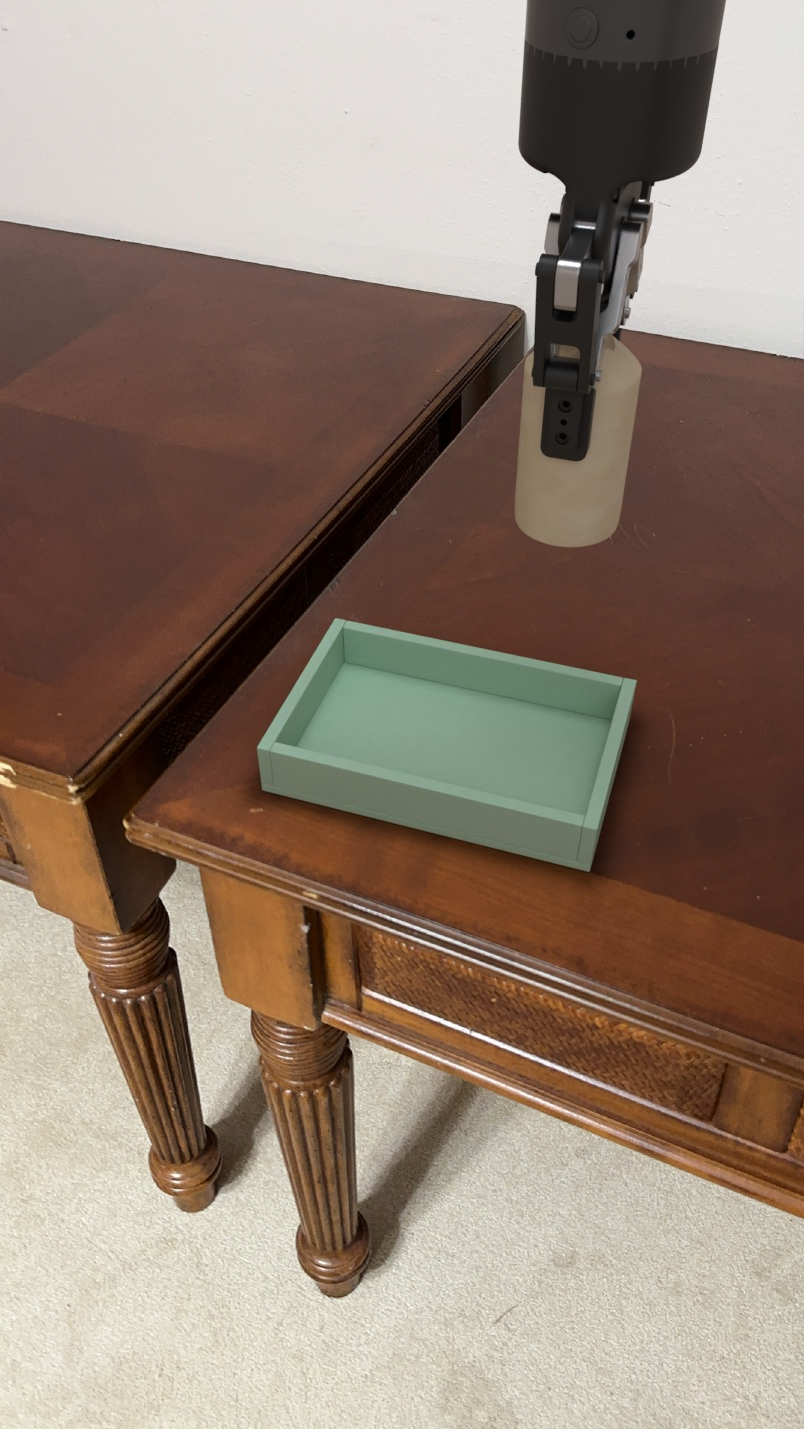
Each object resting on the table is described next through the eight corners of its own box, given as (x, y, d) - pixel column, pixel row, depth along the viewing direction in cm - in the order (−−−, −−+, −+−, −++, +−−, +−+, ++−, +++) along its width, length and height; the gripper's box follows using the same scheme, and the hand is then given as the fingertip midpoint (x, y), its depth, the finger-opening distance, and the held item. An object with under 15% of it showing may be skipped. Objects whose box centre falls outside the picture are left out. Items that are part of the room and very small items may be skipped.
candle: (625, 549, 56) (654, 362, 49) (516, 548, 56) (530, 361, 49) (612, 491, 60) (637, 311, 53) (511, 491, 60) (523, 311, 53)
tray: (628, 722, 69) (637, 679, 67) (589, 872, 60) (597, 829, 58) (337, 659, 74) (335, 617, 71) (261, 790, 65) (256, 747, 63)
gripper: (694, 82, 37) (627, 514, 48) (740, -2, 47) (675, 373, 58) (478, 66, 39) (463, 486, 50) (567, -11, 49) (537, 354, 60)
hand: (577, 424), depth 54 cm, fingers closed on candle, 5 cm apart
